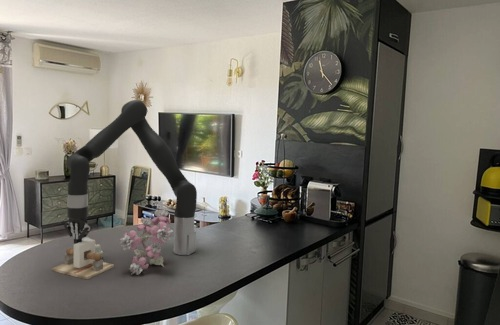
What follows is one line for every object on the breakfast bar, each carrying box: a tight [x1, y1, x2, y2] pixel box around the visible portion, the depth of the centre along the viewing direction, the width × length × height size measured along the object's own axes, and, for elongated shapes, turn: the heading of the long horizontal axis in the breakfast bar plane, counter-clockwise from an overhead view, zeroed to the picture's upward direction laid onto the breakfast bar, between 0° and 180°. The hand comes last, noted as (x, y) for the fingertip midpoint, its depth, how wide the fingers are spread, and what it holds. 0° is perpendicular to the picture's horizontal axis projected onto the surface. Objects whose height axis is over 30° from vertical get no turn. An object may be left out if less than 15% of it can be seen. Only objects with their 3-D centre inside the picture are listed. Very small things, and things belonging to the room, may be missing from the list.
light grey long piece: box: [82, 236, 104, 260], centre depth 164 cm, size 5×7×25 cm
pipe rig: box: [51, 247, 115, 280], centre depth 145 cm, size 18×14×7 cm
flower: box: [118, 207, 174, 275], centre depth 148 cm, size 20×22×25 cm
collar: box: [73, 238, 96, 268], centre depth 144 cm, size 3×8×9 cm, turn 159°
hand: (77, 247), depth 146 cm, fingers closed
